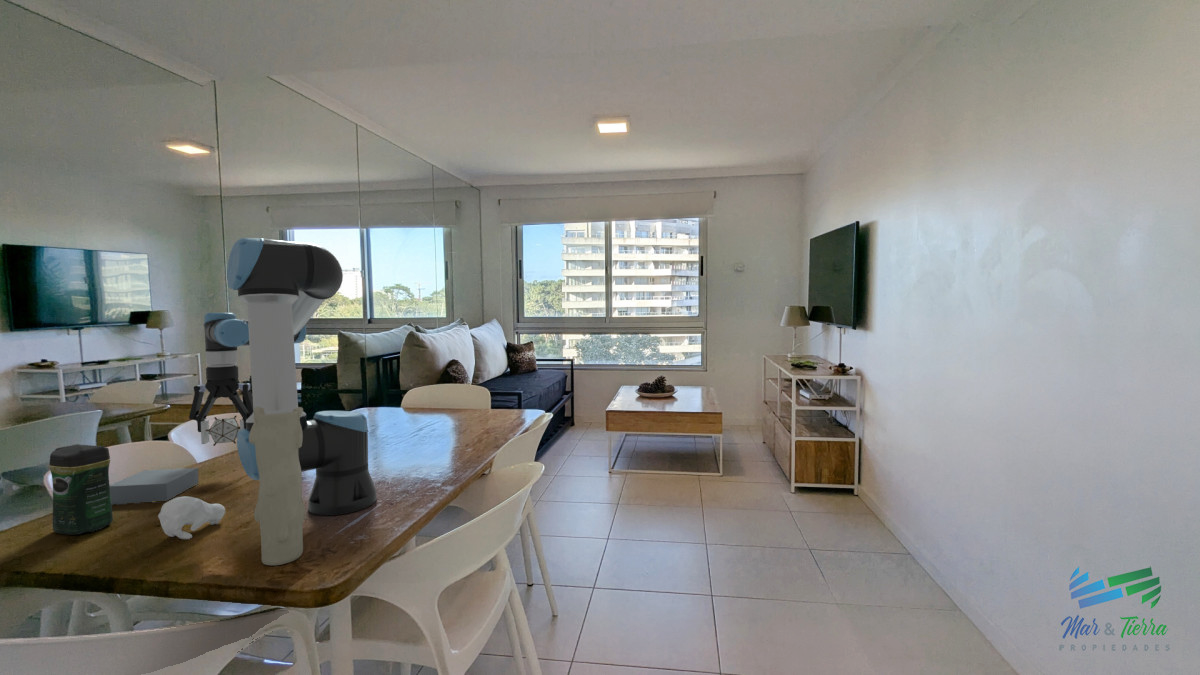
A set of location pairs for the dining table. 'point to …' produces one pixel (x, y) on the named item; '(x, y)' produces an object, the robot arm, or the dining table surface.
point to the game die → (224, 430)
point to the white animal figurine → (188, 515)
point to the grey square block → (153, 485)
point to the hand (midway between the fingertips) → (225, 441)
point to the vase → (279, 484)
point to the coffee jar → (80, 488)
